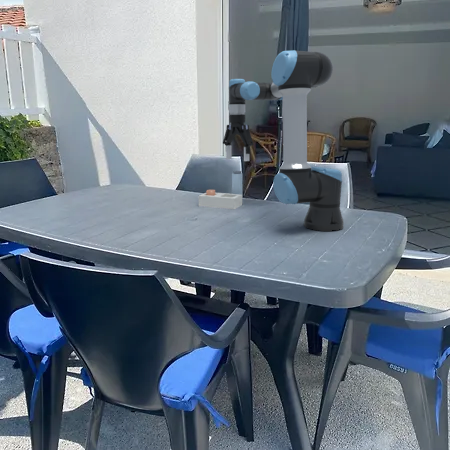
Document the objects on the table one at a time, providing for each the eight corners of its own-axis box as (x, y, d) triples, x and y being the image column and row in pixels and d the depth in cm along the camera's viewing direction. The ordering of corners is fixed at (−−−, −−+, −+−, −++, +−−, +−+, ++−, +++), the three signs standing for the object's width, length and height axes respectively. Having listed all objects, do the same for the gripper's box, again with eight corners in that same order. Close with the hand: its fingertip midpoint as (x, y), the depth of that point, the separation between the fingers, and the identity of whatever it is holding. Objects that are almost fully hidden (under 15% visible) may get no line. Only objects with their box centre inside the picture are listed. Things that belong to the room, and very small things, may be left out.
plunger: (213, 202, 200) (213, 191, 199) (205, 202, 202) (204, 190, 200) (216, 201, 204) (216, 189, 203) (208, 200, 206) (208, 189, 204)
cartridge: (244, 204, 209) (244, 171, 205) (236, 205, 206) (236, 172, 202) (238, 202, 213) (238, 170, 209) (230, 203, 210) (229, 171, 206)
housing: (234, 211, 194) (234, 198, 192) (198, 208, 201) (198, 195, 199) (242, 207, 203) (242, 194, 201) (207, 204, 209) (207, 191, 208)
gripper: (261, 113, 191) (260, 161, 196) (227, 114, 211) (228, 157, 216) (248, 113, 187) (248, 162, 192) (215, 114, 206) (215, 158, 212)
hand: (237, 160), depth 204 cm, fingers open, 13 cm apart
